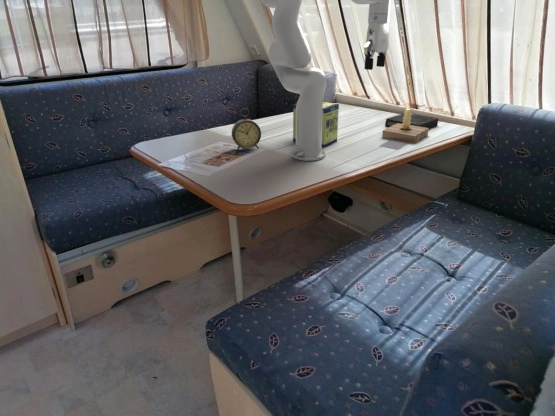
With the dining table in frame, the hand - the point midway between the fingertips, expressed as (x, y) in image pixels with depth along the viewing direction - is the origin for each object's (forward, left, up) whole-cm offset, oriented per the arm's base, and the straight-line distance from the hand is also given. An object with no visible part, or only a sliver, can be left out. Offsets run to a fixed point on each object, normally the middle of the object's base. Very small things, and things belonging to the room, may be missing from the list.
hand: (374, 68), depth 158 cm
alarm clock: (-40, +32, -28) cm, 59 cm away
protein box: (-16, +16, -29) cm, 36 cm away
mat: (-2, -12, -28) cm, 31 cm away
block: (+11, -11, -28) cm, 32 cm away
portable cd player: (+29, -6, -29) cm, 41 cm away
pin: (+11, -11, -28) cm, 32 cm away
